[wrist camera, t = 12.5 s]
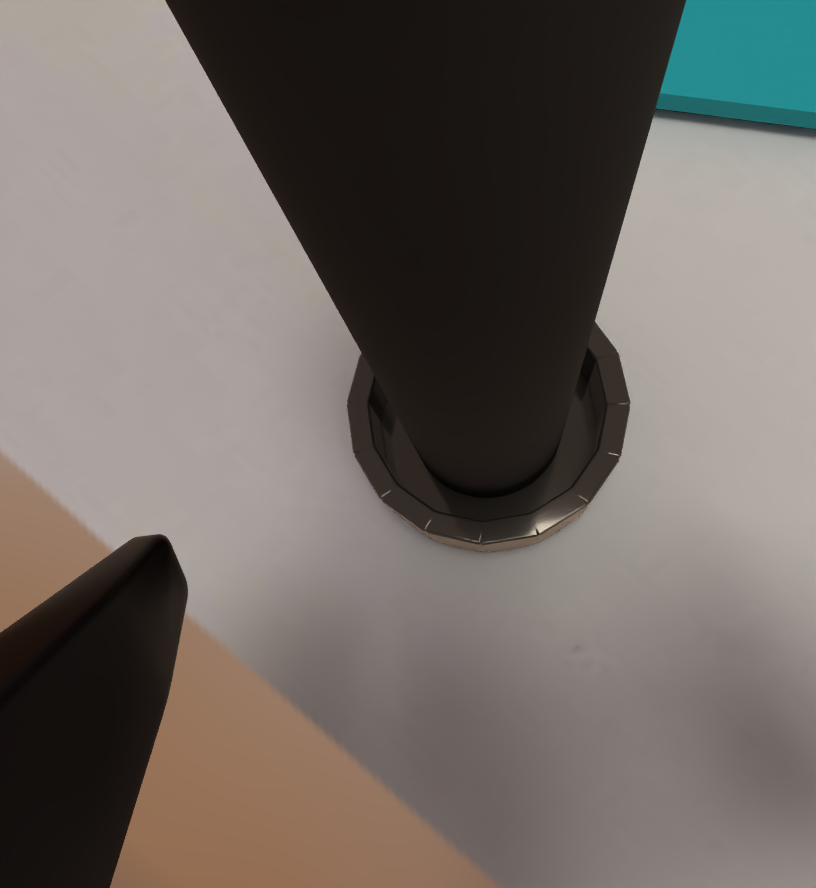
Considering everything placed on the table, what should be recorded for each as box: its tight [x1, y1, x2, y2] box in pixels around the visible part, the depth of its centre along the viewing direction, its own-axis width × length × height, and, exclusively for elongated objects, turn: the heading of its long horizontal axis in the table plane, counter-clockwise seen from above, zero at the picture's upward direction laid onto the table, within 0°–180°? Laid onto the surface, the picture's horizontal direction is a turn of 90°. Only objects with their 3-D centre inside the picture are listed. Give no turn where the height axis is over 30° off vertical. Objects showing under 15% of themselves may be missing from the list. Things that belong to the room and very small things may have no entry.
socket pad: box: [347, 322, 630, 552], centre depth 20 cm, size 7×7×2 cm
